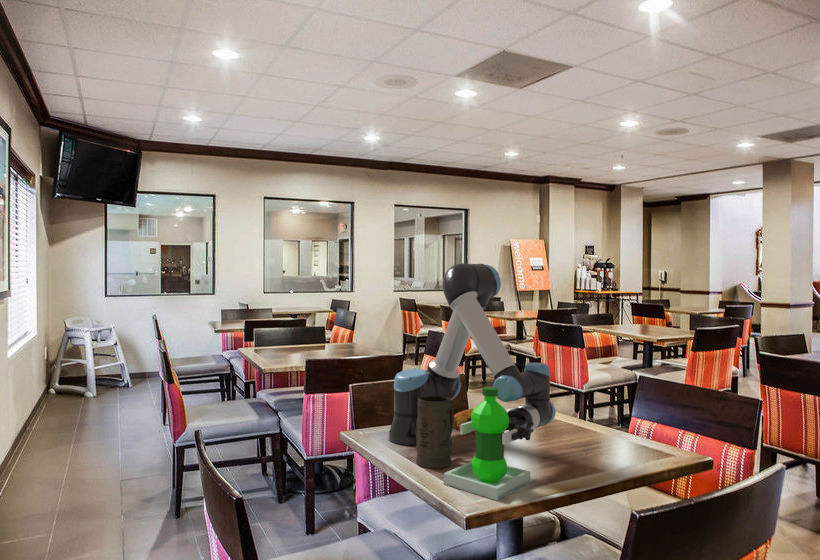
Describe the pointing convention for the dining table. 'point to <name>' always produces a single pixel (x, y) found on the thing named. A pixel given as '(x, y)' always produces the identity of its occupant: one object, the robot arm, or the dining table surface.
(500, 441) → the plastic bottle
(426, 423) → the beer stein
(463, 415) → the bread loaf
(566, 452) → the dining table surface
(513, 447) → the dining table surface
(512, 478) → the tray
